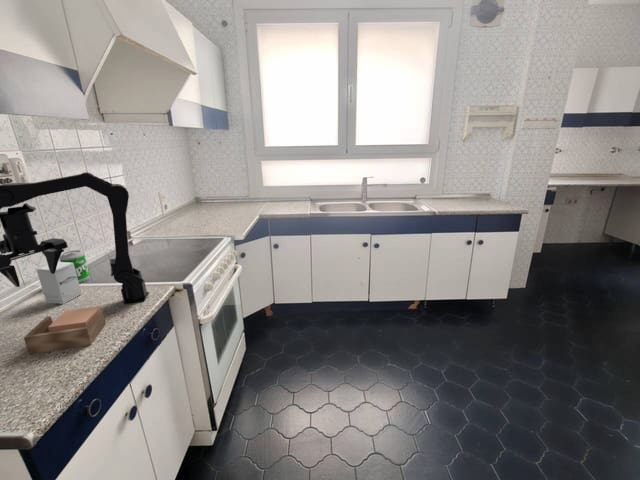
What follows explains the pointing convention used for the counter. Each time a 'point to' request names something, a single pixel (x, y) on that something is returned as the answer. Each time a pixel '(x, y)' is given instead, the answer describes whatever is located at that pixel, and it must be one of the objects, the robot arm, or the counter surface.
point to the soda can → (77, 264)
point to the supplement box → (59, 283)
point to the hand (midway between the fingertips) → (36, 279)
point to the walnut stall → (63, 335)
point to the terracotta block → (73, 319)
